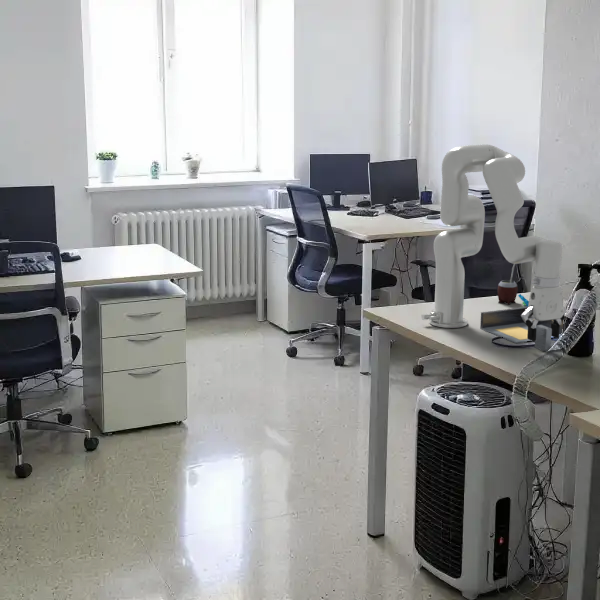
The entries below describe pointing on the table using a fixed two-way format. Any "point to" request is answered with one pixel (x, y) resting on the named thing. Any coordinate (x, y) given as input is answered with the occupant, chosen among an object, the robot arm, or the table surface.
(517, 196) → the robot arm
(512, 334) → the tray
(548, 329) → the bracket
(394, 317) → the table surface
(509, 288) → the mate gourd
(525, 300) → the blue toy cog wheel
